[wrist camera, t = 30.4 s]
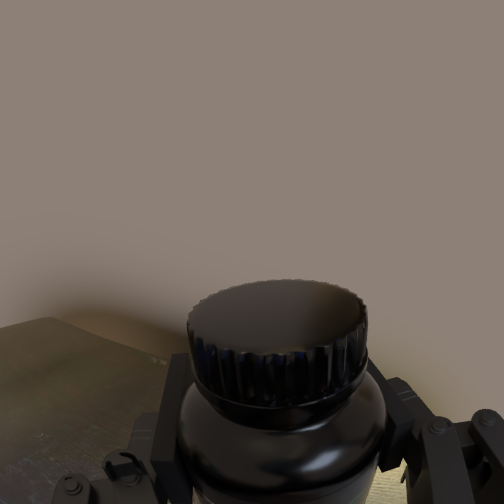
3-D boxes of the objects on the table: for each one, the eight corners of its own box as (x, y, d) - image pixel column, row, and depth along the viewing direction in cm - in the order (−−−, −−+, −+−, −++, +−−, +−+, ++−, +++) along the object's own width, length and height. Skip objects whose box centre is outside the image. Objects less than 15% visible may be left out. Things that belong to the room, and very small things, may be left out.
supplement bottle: (188, 514, 12) (114, 307, 9) (287, 455, 16) (280, 258, 13) (278, 600, 6) (263, 446, 4) (381, 512, 11) (444, 293, 8)
